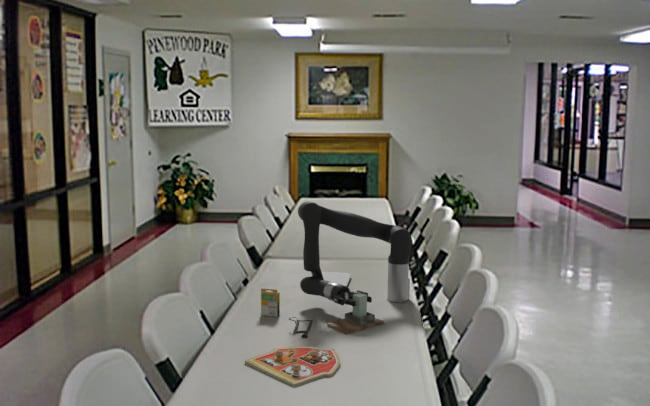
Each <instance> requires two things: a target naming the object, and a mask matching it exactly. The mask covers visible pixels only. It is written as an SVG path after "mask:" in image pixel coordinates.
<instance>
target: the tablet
mask: <svg viewBox="0 0 650 406" xmlns="http://www.w3.org/2000/svg"><path fill="white" fill-rule="evenodd" d="M321 272H322V275H323V279H324V280H326V281H329V282H332V283H337V284H340V285H343V286H346V287H348V285H349V282H350V280H351V276H352V274H351V273H349V272H337V271H335V272H331V271H330V272H329V271H321Z"/></svg>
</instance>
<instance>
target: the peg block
mask: <svg viewBox="0 0 650 406" xmlns="http://www.w3.org/2000/svg"><path fill="white" fill-rule="evenodd" d="M353 300H354V301H356V306H352V312H353V316H356V317H359V318H360V317H364V316H367V312H368V309H367V308H368V307H367V306H368V302H367V295H365V294H362V293H358V294H353Z"/></svg>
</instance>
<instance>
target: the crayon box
mask: <svg viewBox="0 0 650 406" xmlns="http://www.w3.org/2000/svg"><path fill="white" fill-rule="evenodd" d="M280 303H281V301H280V292H278V289H271V288H262V287H261V288H260V315H261V316H264V317H265V316H266V317H275V318H278V317H279V316H280V315H281V313H280V306H281V305H280Z"/></svg>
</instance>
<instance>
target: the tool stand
mask: <svg viewBox="0 0 650 406" xmlns="http://www.w3.org/2000/svg"><path fill="white" fill-rule="evenodd" d="M375 316H376V314H374V313H371V312H368V311H367V316H364V317H360V318H359V317H356V316H353V311H350V312H346V313H344V318H343V319H339V320H335V321H331V322H328V323H327V324H326V326H327V327H328V328H331V329H333V330H336V331H338V332H340V333H343V334H346V335H349V334H353V333H356V332H359V331H363V330H366V329H369V328H373V327H377V326H380V325H384V324H385V321H384V320H383V319H379V318H378V317H375Z"/></svg>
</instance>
